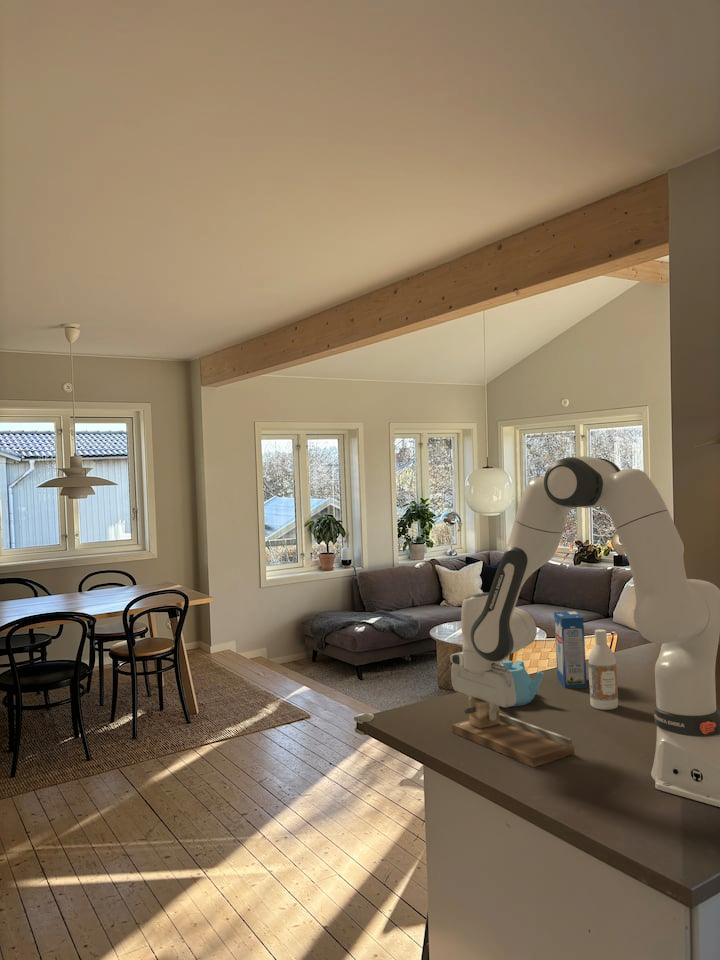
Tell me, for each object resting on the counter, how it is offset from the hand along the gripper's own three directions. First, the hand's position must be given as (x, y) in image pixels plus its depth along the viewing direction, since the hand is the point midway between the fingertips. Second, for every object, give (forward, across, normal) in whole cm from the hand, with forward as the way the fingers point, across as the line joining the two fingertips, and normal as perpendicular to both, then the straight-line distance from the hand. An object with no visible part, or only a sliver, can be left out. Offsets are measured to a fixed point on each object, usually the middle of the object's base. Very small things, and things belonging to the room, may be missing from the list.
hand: (484, 716), depth 184 cm
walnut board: (+4, -9, 0) cm, 10 cm away
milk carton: (+4, +17, -47) cm, 50 cm away
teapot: (+4, +16, -22) cm, 28 cm away
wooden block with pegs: (+2, 0, 0) cm, 2 cm away
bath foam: (+4, -4, -37) cm, 37 cm away
